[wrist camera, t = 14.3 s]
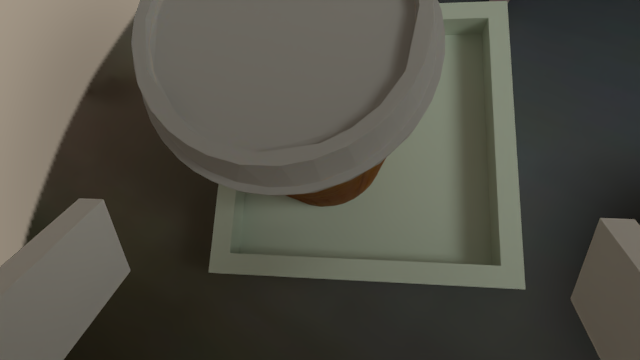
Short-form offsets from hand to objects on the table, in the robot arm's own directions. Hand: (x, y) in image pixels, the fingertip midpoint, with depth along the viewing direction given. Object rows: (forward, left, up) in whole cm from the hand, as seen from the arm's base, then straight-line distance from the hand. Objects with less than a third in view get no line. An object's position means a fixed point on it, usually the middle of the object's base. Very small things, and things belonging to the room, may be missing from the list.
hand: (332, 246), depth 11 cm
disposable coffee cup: (+2, -6, -11) cm, 12 cm away
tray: (0, -7, -11) cm, 13 cm away
